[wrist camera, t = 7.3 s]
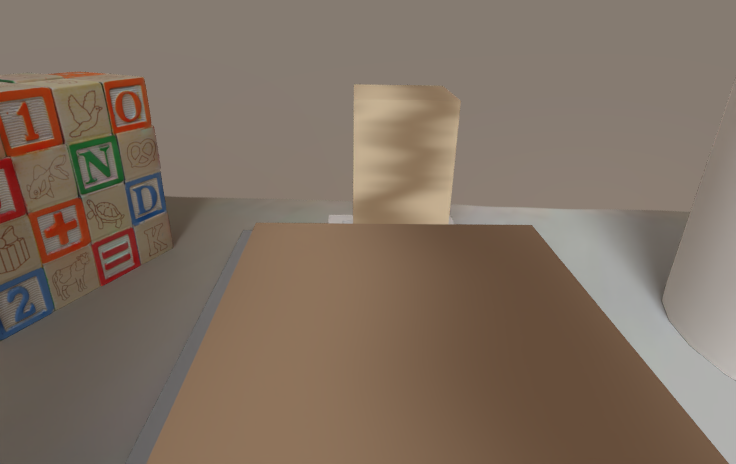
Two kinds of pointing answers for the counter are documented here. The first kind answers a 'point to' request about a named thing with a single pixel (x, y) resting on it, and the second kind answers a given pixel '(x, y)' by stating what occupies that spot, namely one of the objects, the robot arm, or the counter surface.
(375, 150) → the oak pillar
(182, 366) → the board
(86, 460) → the counter surface
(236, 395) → the walnut pillar
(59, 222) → the stack of blocks
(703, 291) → the cylinder
